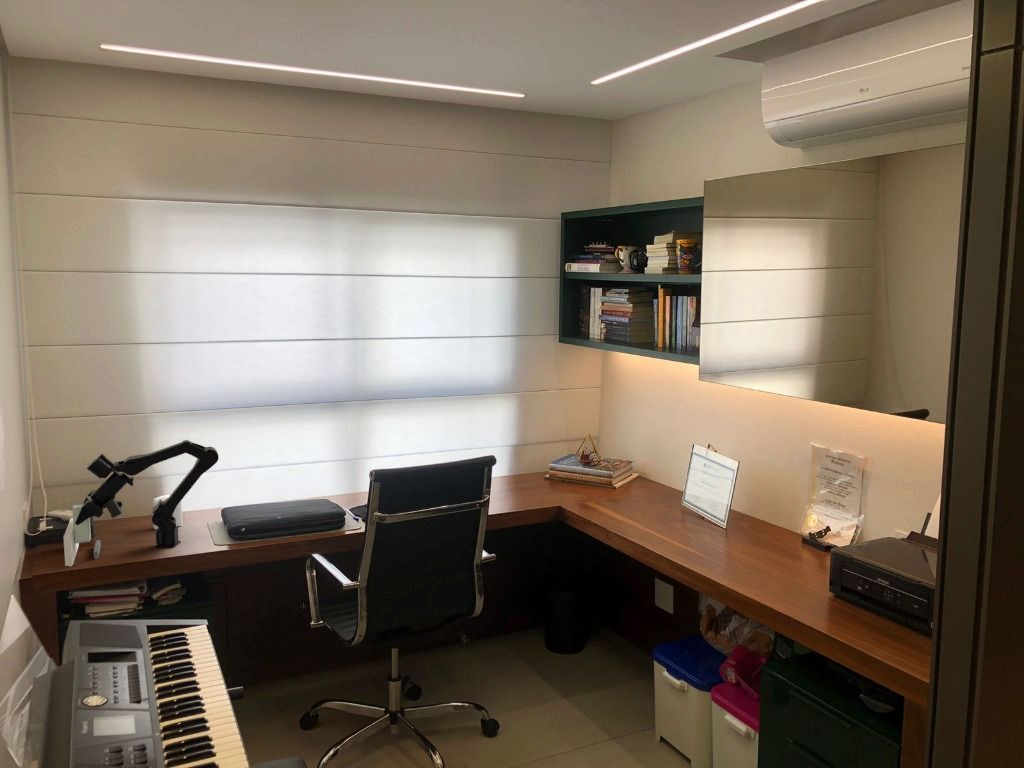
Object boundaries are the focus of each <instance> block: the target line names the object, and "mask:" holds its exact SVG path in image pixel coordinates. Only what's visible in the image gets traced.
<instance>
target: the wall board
mask: <svg viewBox="0 0 1024 768" xmlns="http://www.w3.org/2000/svg"><path fill="white" fill-rule="evenodd" d="M101 544H102V543H101V539H98V540H97V539H96V540H95V544H94V548H93V560H98V559H99V555H100V553H101V552H100V550H101ZM79 546H80V543H75V542H74V527H73V517H70V519H69V522H68V524H67V528H66V529H65V533H63V548H64V549H63V550H64V565H65V566H69V567H73V566H72V565H74V562H75V558H76V556H77V552H78V549H79Z"/></svg>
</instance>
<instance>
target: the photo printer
mask: <svg viewBox="0 0 1024 768" xmlns="http://www.w3.org/2000/svg"><path fill="white" fill-rule="evenodd" d="M170 495H171V494H165V495H160V496H157V497H155V498H153V501H152V508H153V507H155V506H156V505H157V504H158V502H159V500H160V499H161V500H162V501H165V500H166V499H167V498H169V496H170ZM182 507H183V506H182V500H181V501H180V503H179V504H178V505H177V507H176V509H175V511H174V513H173V515H172V516H173V517H174V518H176V527H177V526H178V527H182V526H183V509H182ZM152 524H153V523H152ZM153 529H154V530H157V529H158V526H155V525H154V524H153Z"/></svg>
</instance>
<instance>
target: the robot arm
mask: <svg viewBox="0 0 1024 768" xmlns="http://www.w3.org/2000/svg"><path fill="white" fill-rule="evenodd" d="M184 454H188V455H189V456H192V457H194V458H196V461H195V462H194V464H193V467H192V468H191V469H190V470H189V471H188V473H187V474H186V475H185V477H184V478H183V479H182V480H181V481H180V483H179V484H178V485H177V486H176V488H175V489H174V490H173V491H172V493H170V494H169V495H170V496H169V498H167V499H166V500H165V501H162V500H161V499H160V500H159V502H158V504H157V505H156V506H155V507H153V506H152V512H151V522H152V524H154V525H155V526H158V529H156V532H155V546H154V547H155V548H175V547H176V546H177V545H179V544H181V542H182V541H181V540H180V539H179V526H178V527H176V518H174V517H173V516H172V515H173V513H174V511H175V509H176V507H177V505H178V504H179V503H180V501H182V500H183V499H184V497H185V496H186V495H187V494H188V492H189V491H190V490H191V489H192V488H193V486H194V485H196V483H197V481H198V480H200V478H201V476H202V475H203V474H205V473H206V472H207V471H209V470H210V469H211V468H212V467H214V466H215V465H217V463H218V461H219V459H220V458H219V453H218V450H217V449H216V448H215V447H213V446H204V445H201V444H198V443H195V442H192V441H191V440H188V439H185V440H182V441H181V442H178V443H175V444H172V445H169V446H167V447H164V448H161V449H158V450H156V451H152V452H149V453H144V454H136V455H131V456H127V457H126V458H125V459H123V460H121V461H114V462H113V461H111V459H109V458H107V456H106V455H105V454H103V453H101V454H100V455H98V456H97V457H96V458H94V459H93V460H92V461H91V462H90V464H89V465H88V466H87V467H86V470H88V471H89V472H90V473H92V474H93V475H94V476H96V477H97V478H98V479H99V480H101V479H105V480H104V481H103V482H102V483H101V484H100V486H98V488H97V489H92V490H90V491H89V492H88V493H87V495H86V497H85V499H84V501H83V504H82V505H83V506H82V509H81V511H80V513H79V515H78V518H77V520H76V522H75V524H76V525H79V524H80V523H82V522H84V521H85V520H87V519H88V518H90V519H91V517H95V518H98V519H99V518H100V517H102V515H103V514H104V509H107V511H108V512H109V514H110V516H111V518H112V519H114V518H116V517H118V516H120V515H122V514H123V510H122V506H123V502H122V501H121V500H117V499H116V496H117V494H118V493H119V492H120V491H121V490H123V488H124V487H126V485H127V484H128V485H129V486H131V487H134V479H135V476H136V475H137V474H140V473H142V472H144V471H145V470H146V469H148V468H150V467H152V466H154V465H156V464H158V463H162V462H164V461H167V460H170V459H172V458H176V457H178V456H181V455H184ZM110 474H111V475H110ZM109 475H110V476H109Z"/></svg>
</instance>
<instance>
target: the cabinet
mask: <svg viewBox="0 0 1024 768" xmlns="http://www.w3.org/2000/svg"><path fill="white" fill-rule="evenodd" d="M82 506H83V504H74V505H73V506H72V508H71V509H72V510H71V511H72V518H73V527H74V542H75V543H79V544H81V543H90V542H91V539H92V533H91V532H92V531H91V517H90V518H88V519H87V520H85V521H84V522H82V523H80V524H79V525H76V524H75V522H76V520H77V518H78V515H79V513H80V511H81V509H82Z"/></svg>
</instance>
